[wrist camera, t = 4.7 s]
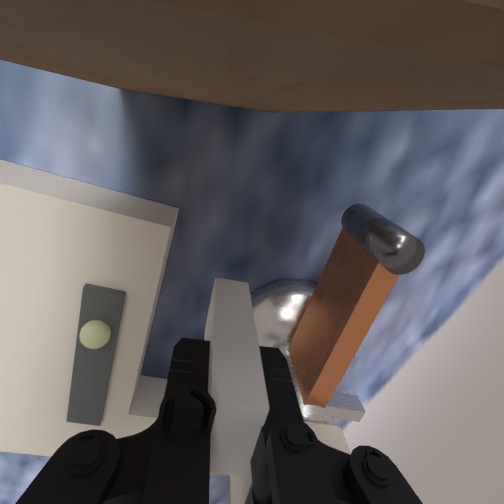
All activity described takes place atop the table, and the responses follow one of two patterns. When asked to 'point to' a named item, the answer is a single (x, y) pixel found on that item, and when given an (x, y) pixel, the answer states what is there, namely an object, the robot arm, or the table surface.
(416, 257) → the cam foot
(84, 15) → the wooden block
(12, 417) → the stand
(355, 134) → the table surface
